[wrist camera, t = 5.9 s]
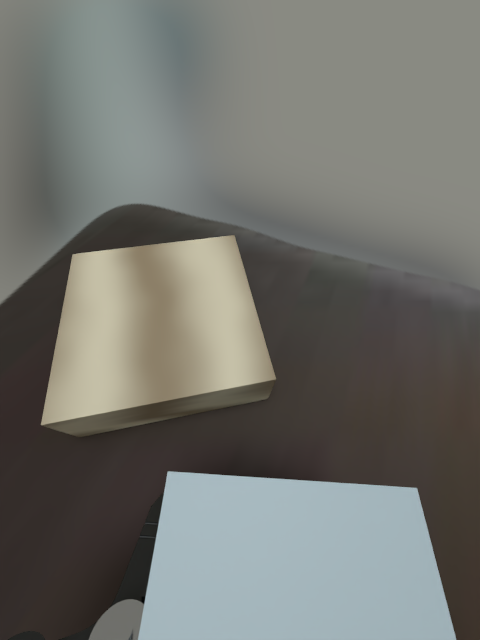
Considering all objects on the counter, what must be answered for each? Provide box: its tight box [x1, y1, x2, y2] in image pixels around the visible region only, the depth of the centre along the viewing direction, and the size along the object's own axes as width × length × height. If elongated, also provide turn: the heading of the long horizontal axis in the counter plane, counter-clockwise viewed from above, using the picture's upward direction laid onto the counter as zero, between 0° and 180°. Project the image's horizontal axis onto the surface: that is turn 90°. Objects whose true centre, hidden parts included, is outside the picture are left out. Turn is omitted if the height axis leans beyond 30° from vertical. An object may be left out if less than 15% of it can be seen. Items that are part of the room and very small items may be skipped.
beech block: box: [41, 235, 276, 437], centre depth 17 cm, size 11×11×4 cm
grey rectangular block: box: [138, 471, 456, 640], centre depth 8 cm, size 5×5×10 cm
